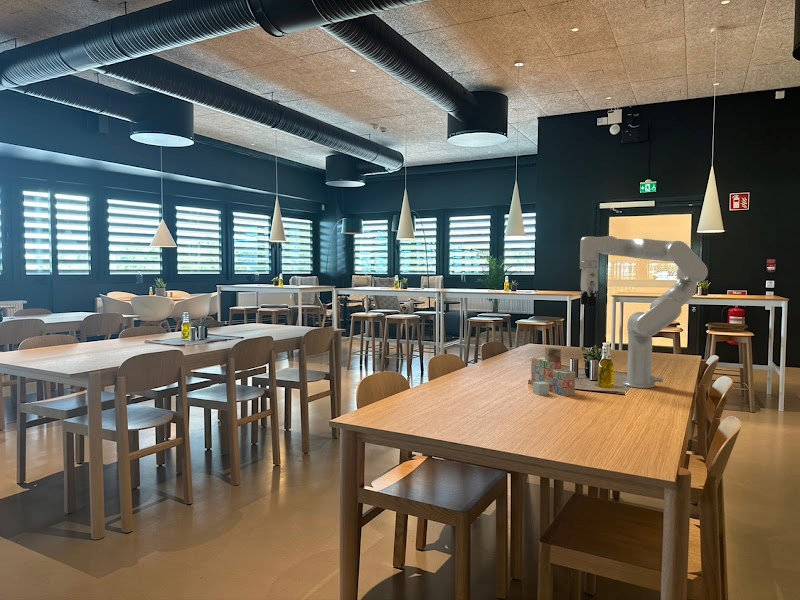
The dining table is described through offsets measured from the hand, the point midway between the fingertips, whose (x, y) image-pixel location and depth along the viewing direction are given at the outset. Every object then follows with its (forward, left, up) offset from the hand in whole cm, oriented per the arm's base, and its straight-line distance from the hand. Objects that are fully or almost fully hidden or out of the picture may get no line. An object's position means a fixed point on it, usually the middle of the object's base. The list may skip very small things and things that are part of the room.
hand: (587, 305), depth 244 cm
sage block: (+24, +21, -34) cm, 47 cm away
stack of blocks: (+18, +14, -35) cm, 41 cm away
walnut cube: (+18, +13, -22) cm, 31 cm away
